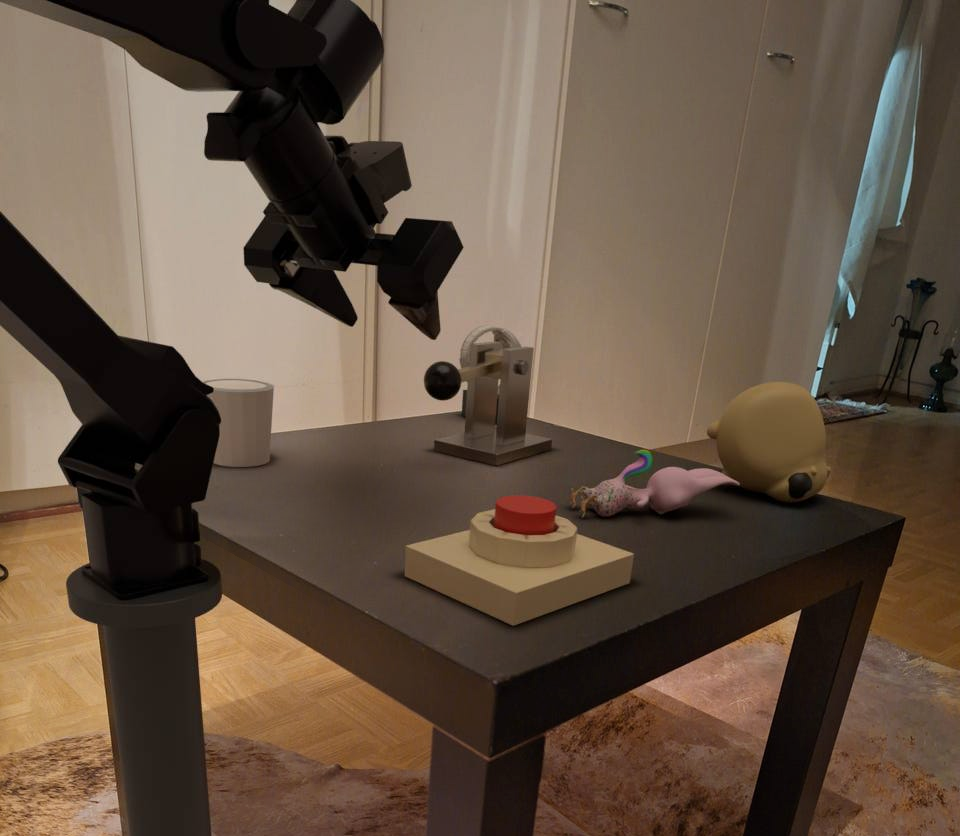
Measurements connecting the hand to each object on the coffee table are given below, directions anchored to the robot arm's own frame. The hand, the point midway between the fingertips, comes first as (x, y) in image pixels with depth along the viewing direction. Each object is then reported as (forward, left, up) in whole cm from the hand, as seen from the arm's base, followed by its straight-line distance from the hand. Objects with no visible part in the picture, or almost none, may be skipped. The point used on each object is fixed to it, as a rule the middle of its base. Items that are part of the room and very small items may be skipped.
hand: (394, 328), depth 75 cm
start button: (-9, -25, -9) cm, 28 cm away
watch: (+29, +15, -13) cm, 35 cm away
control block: (-9, -25, -13) cm, 29 cm away
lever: (+12, +2, -6) cm, 14 cm away
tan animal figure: (+29, -23, -13) cm, 39 cm away
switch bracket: (+17, +3, -13) cm, 22 cm away
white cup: (-8, +12, -13) cm, 20 cm away
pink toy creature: (+13, -21, -13) cm, 28 cm away
